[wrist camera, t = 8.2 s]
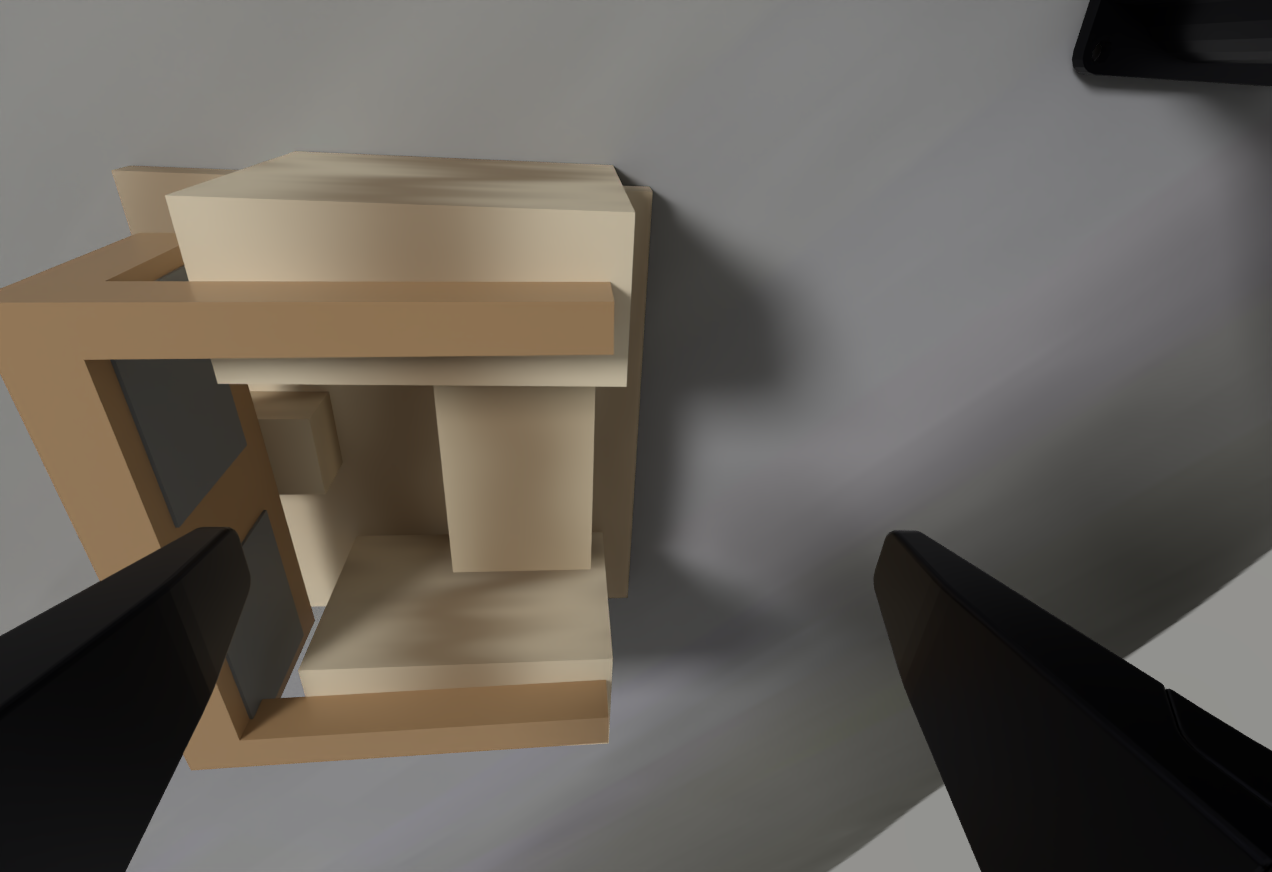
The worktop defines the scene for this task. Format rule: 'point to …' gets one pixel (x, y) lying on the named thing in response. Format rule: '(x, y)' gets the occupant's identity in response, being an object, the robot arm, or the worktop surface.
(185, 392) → the glasses
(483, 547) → the wooden block stand
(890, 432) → the worktop surface
